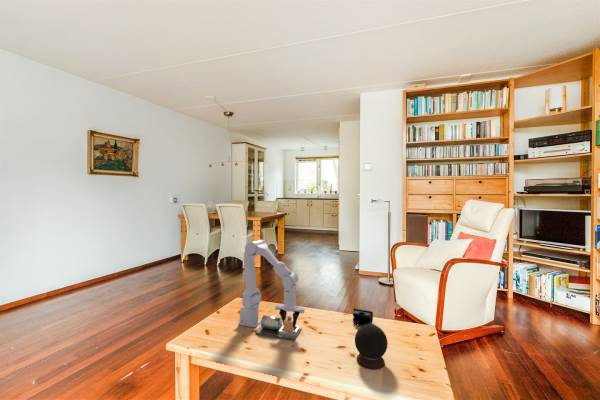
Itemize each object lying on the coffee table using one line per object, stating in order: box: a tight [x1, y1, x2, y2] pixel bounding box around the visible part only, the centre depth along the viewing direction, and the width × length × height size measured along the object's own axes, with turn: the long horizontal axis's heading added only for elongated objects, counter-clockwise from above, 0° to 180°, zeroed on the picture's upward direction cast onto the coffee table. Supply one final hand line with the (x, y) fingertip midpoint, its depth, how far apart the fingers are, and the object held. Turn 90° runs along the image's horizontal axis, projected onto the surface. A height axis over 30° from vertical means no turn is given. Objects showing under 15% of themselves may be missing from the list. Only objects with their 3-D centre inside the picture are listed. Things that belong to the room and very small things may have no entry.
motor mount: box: [255, 314, 303, 342], centre depth 143 cm, size 20×12×7 cm, turn 73°
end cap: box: [352, 308, 374, 326], centre depth 155 cm, size 10×7×7 cm
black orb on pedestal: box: [354, 323, 389, 371], centre depth 119 cm, size 13×13×15 cm
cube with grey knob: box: [283, 315, 295, 332], centre depth 142 cm, size 4×4×6 cm
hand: (289, 325), depth 142 cm, fingers closed on cube with grey knob, 4 cm apart
